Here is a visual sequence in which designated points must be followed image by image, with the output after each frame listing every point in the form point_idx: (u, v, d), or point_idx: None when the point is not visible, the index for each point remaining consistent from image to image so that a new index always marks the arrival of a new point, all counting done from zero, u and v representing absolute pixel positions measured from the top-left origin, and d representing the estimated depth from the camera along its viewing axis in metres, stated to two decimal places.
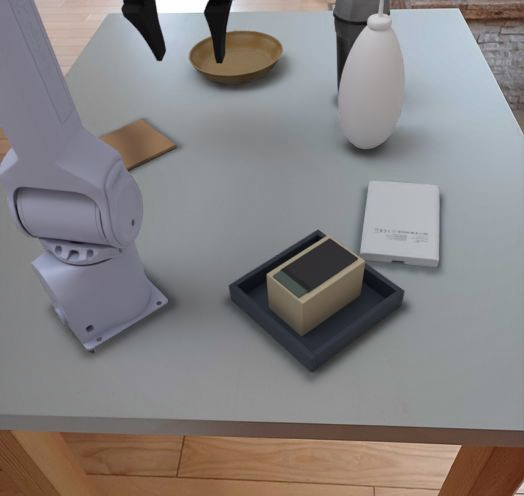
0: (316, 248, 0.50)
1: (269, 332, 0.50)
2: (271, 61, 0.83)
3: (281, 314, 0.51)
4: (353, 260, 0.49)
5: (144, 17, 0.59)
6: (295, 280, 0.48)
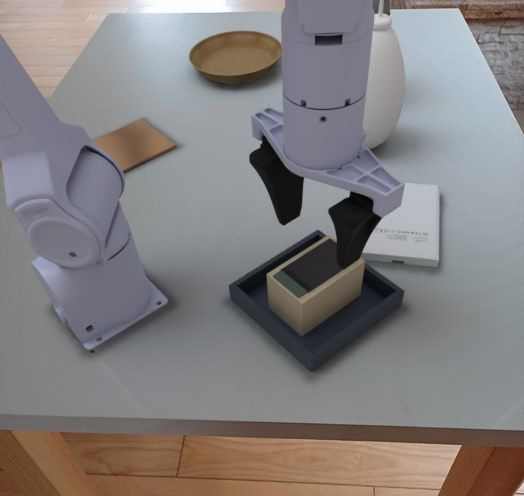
0: (316, 248, 0.50)
1: (269, 332, 0.50)
2: (271, 61, 0.83)
3: (281, 314, 0.51)
4: None
5: (272, 174, 0.43)
6: (295, 280, 0.48)
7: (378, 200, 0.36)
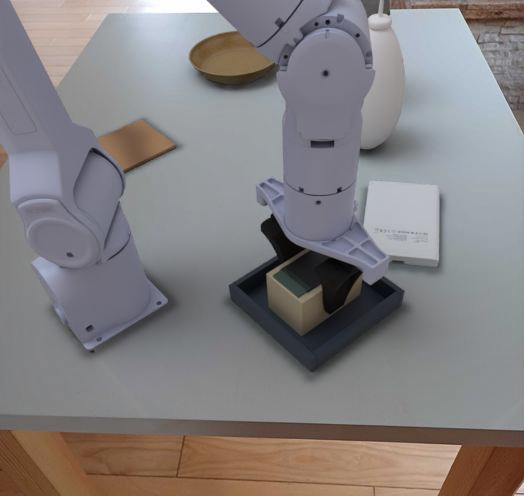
0: None
1: (269, 332, 0.50)
2: (271, 61, 0.83)
3: (281, 314, 0.51)
4: None
5: (281, 242, 0.47)
6: (295, 280, 0.48)
7: (366, 271, 0.41)
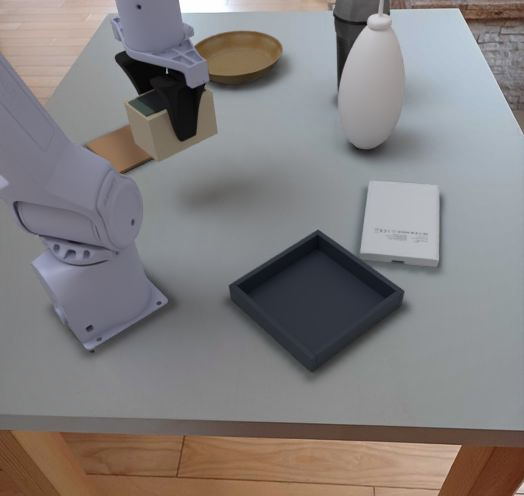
0: None
1: (269, 332, 0.50)
2: (271, 61, 0.83)
3: (142, 145, 0.57)
4: None
5: (132, 71, 0.54)
6: (146, 104, 0.54)
7: (186, 73, 0.47)
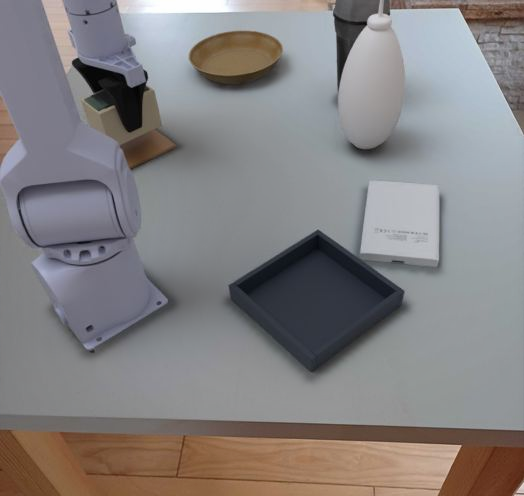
0: None
1: (269, 332, 0.50)
2: (271, 61, 0.83)
3: None
4: (145, 89, 0.66)
5: (86, 73, 0.65)
6: (98, 101, 0.65)
7: (125, 75, 0.58)
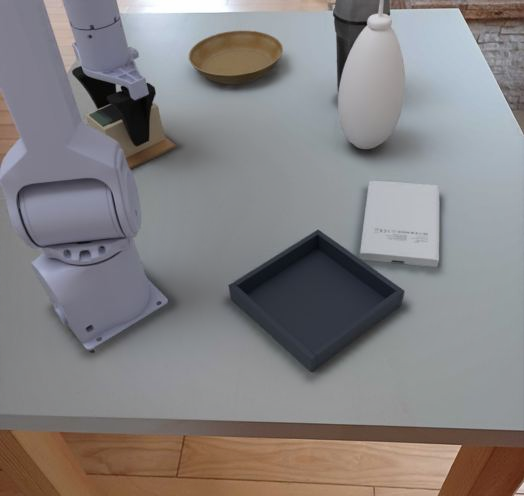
0: None
1: (269, 332, 0.50)
2: (271, 61, 0.83)
3: None
4: None
5: (86, 82, 0.66)
6: (103, 116, 0.67)
7: (129, 88, 0.59)
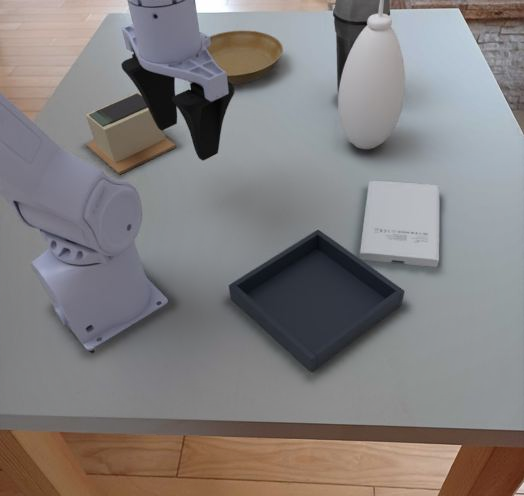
0: (125, 99, 0.69)
1: (269, 332, 0.50)
2: (271, 61, 0.83)
3: (102, 149, 0.70)
4: None
5: (140, 79, 0.52)
6: (103, 116, 0.67)
7: (205, 85, 0.45)
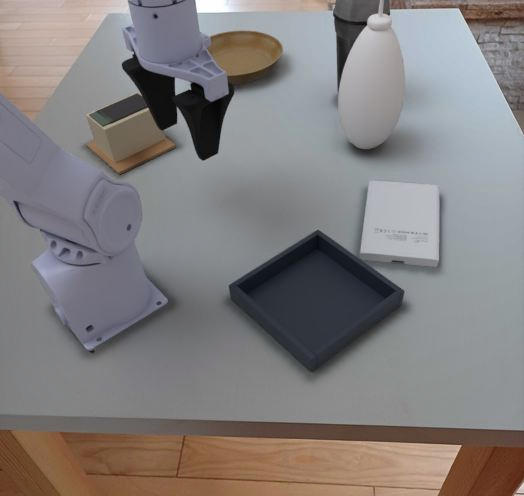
0: (125, 99, 0.69)
1: (269, 332, 0.50)
2: (271, 61, 0.83)
3: (102, 149, 0.70)
4: None
5: (140, 79, 0.52)
6: (103, 116, 0.67)
7: (205, 85, 0.45)
